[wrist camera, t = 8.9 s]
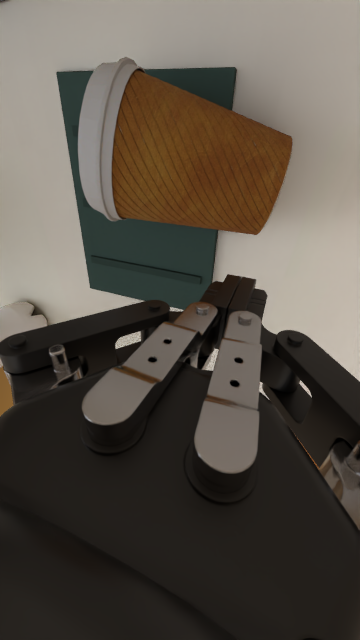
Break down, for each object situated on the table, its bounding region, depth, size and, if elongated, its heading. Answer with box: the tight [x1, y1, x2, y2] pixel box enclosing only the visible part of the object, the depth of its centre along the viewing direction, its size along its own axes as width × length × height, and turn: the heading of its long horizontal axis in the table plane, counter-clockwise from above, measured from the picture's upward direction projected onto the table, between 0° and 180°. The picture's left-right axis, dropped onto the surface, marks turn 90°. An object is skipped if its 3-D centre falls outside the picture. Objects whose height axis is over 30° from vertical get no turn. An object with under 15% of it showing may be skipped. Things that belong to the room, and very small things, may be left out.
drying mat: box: [57, 67, 237, 310], centre depth 26 cm, size 15×20×1 cm
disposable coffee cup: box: [78, 57, 292, 235], centre depth 19 cm, size 10×10×12 cm
